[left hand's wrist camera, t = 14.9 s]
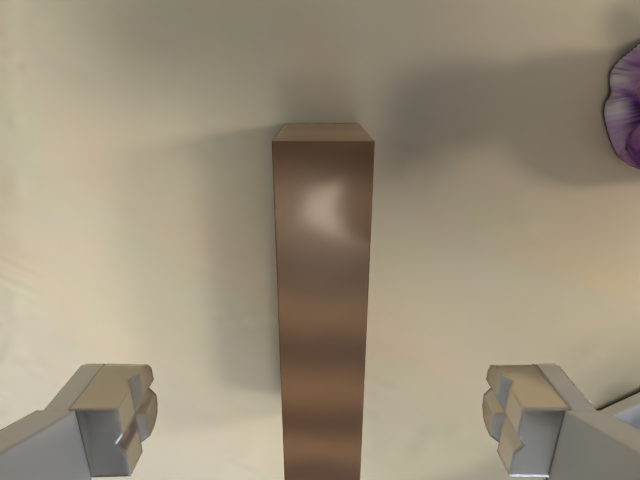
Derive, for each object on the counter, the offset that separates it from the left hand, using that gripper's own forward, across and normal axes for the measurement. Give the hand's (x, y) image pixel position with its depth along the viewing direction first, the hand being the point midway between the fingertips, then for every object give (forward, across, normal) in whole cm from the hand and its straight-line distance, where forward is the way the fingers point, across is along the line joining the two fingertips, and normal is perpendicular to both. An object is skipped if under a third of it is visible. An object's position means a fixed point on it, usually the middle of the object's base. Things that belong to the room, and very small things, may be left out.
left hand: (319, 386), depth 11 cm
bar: (+23, 0, +8) cm, 24 cm away
